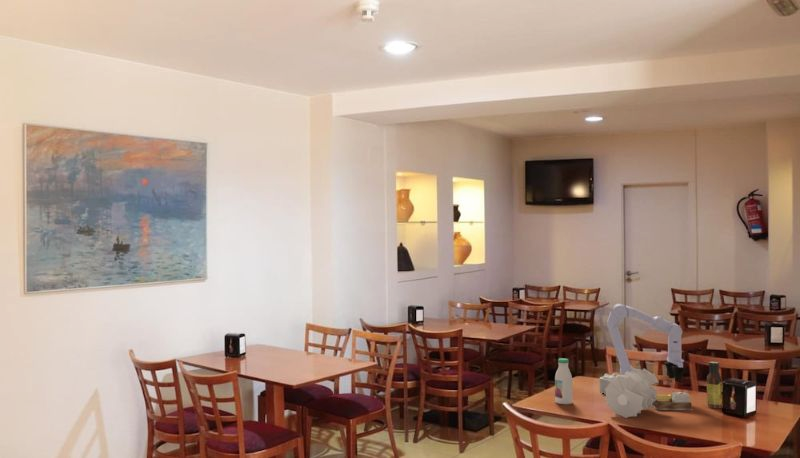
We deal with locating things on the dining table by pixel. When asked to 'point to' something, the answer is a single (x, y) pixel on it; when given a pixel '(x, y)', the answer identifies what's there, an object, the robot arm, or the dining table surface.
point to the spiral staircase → (631, 392)
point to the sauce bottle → (714, 386)
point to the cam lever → (664, 397)
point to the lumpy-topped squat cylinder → (606, 381)
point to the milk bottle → (563, 383)
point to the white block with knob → (680, 397)
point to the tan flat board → (671, 405)
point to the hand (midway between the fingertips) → (674, 380)
